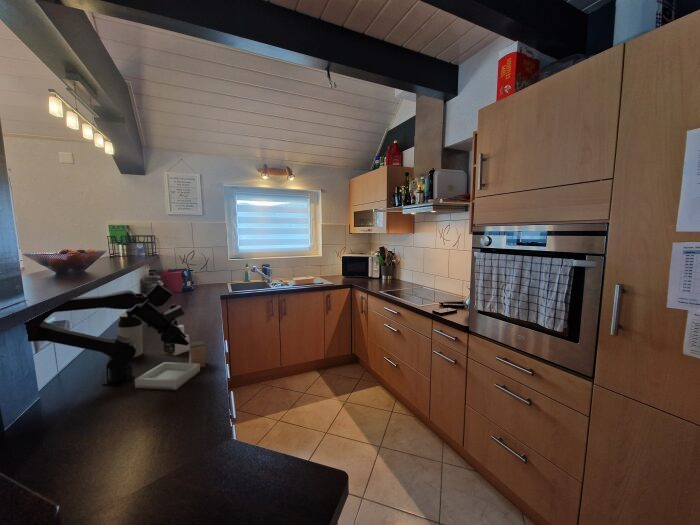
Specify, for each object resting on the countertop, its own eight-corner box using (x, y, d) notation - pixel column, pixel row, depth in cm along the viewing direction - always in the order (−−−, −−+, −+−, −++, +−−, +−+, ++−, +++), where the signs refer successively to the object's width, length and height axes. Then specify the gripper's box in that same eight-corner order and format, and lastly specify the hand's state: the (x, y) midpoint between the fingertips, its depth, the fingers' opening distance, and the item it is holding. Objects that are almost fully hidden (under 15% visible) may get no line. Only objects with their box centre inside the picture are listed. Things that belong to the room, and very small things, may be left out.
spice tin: (190, 369, 111) (190, 346, 110) (189, 364, 115) (189, 342, 114) (205, 366, 114) (205, 344, 113) (203, 362, 118) (203, 340, 117)
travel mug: (133, 359, 119) (132, 316, 118) (114, 358, 119) (112, 315, 118) (147, 352, 127) (146, 311, 126) (129, 351, 127) (128, 311, 126)
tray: (135, 387, 96) (135, 379, 96) (164, 369, 110) (164, 362, 110) (176, 389, 95) (176, 380, 95) (200, 371, 109) (199, 363, 109)
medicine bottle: (163, 353, 126) (162, 326, 125) (178, 348, 133) (178, 322, 132) (174, 355, 123) (174, 328, 123) (189, 350, 130) (189, 324, 129)
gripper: (171, 303, 100) (206, 330, 107) (167, 295, 115) (199, 319, 122) (144, 329, 96) (182, 355, 103) (144, 317, 111) (177, 340, 118)
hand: (186, 340), depth 112 cm, fingers open, 9 cm apart
